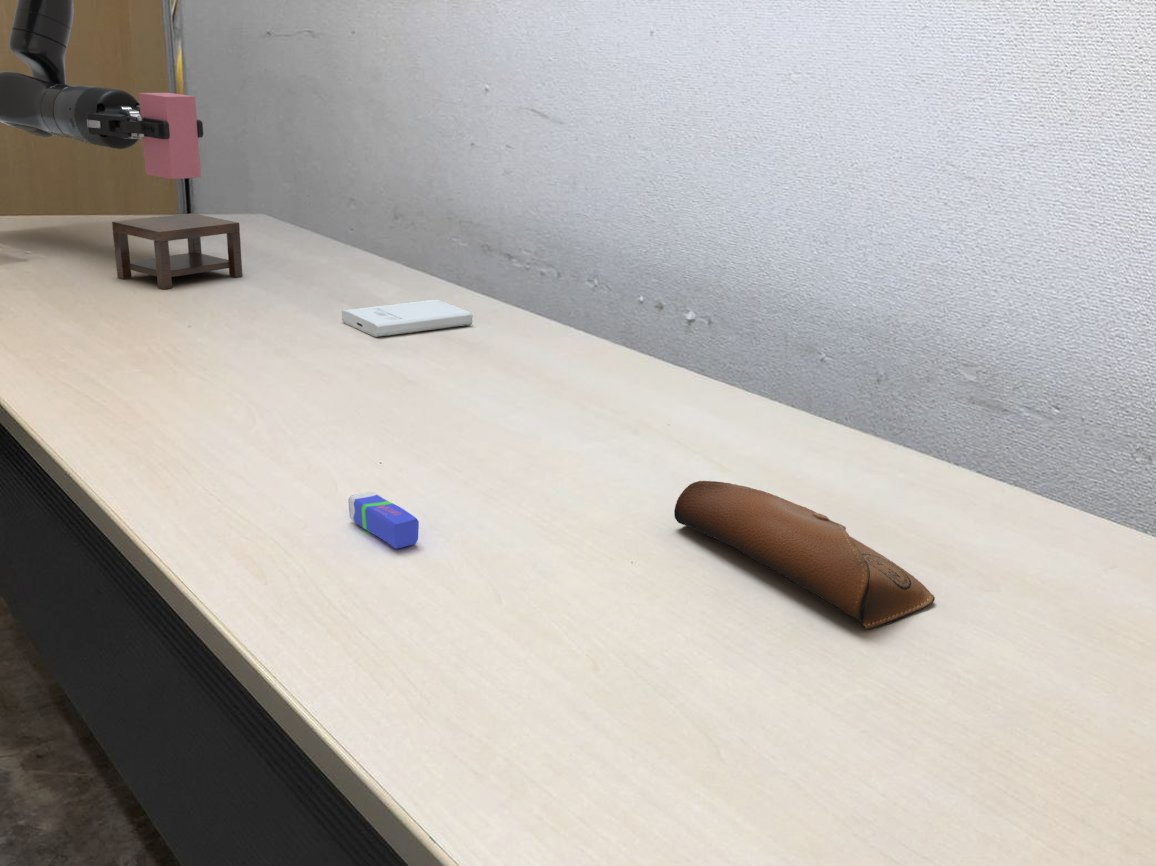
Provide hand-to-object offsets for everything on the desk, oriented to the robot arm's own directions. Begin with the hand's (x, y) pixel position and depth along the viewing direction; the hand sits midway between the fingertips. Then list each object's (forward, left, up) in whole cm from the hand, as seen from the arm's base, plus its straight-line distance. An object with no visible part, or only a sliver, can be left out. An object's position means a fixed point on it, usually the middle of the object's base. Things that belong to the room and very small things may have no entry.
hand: (183, 129), depth 142 cm
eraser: (-31, -83, -18) cm, 90 cm away
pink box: (0, +3, -6) cm, 7 cm away
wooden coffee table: (-3, -3, -18) cm, 18 cm away
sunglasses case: (-13, -105, -18) cm, 107 cm away
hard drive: (+6, -38, -18) cm, 42 cm away
